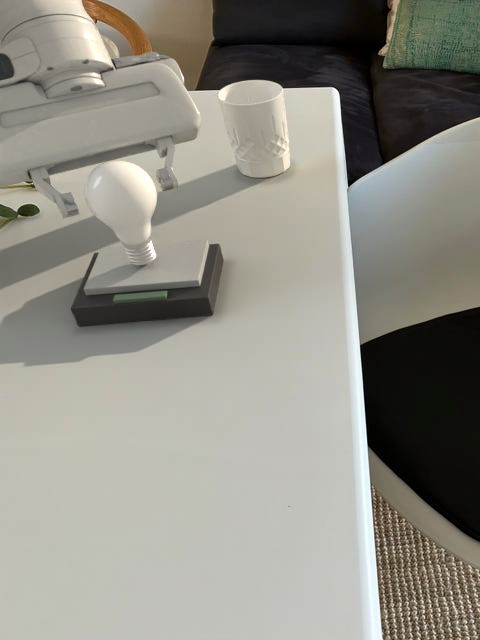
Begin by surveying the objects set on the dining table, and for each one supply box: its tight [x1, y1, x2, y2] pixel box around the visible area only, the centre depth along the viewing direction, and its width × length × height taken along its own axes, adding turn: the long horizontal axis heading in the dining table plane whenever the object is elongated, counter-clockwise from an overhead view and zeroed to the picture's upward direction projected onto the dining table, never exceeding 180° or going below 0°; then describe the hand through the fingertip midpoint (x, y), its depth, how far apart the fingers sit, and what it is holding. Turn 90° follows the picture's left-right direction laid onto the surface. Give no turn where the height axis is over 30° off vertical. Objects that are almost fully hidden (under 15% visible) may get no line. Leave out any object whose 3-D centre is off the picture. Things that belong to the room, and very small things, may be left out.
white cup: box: [216, 79, 291, 179], centre depth 99 cm, size 8×8×10 cm
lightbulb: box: [83, 159, 158, 265], centre depth 76 cm, size 6×6×11 cm
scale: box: [70, 239, 224, 327], centre depth 80 cm, size 13×10×3 cm
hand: (122, 201), depth 75 cm, fingers open, 8 cm apart
